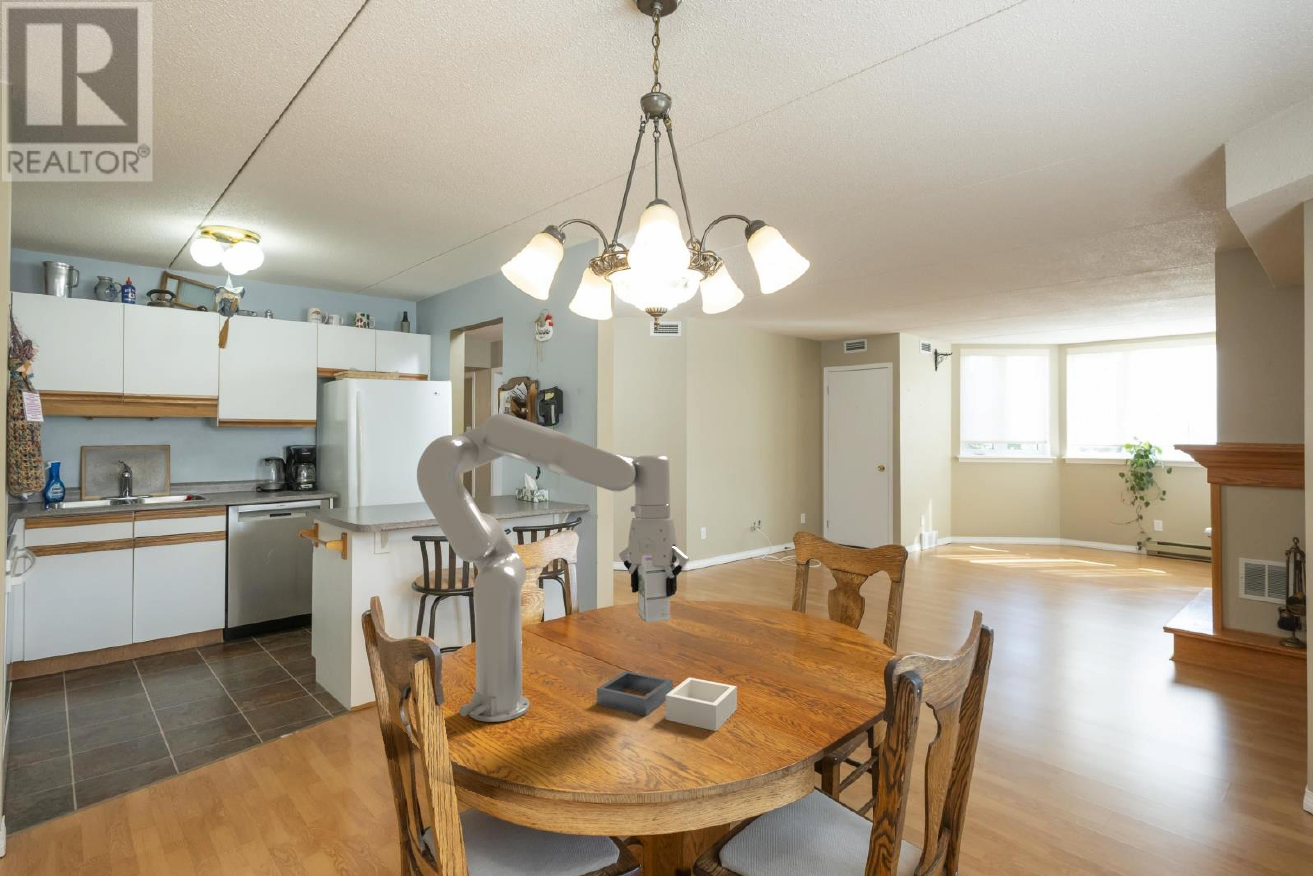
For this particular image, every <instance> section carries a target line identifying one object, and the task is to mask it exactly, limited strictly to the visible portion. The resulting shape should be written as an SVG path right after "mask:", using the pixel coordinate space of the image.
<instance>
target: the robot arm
mask: <svg viewBox="0 0 1313 876" xmlns="http://www.w3.org/2000/svg"><path fill="white" fill-rule="evenodd" d="M504 456H505V457H508V458H512V459H515V460H518V461H521V462H523V463H524V462H525V463H527V464H530V465H533V466H535V467H538V468H542V469H544V470H547V471H550V472H552V473H555V474H559V475H564V476H566V477H569V478H571V479H572V478H573V479H575V480H578V481H580V482H584V483H586V484H590V485H592V486H596V487H598V488H602V489H604V490H607V491H611V492H618V493H619V492H623V491H626V490H628V489H629V488H631V487H634V496H635V500H634V501H635V503H634V505H631V507H630V512H631V513H634V517H633V518H632V519H631V522H630V527H629V534H628V546H627V547H626V548H625V549H623V550H622V551H621V552H620V553H619V554H618V557H619V558H620V559H621V561H622V563H623V566H624V567H625V568H626V569H627V571H628V574H629V575H630V587H631V592H632V593H633V594H634V593H635V594H636V593H637V592H638V565H642V555H644V554H651V556H652V565H653V566H654V567H664V569H665V571H666V572H667V574H668V578H666V596H667V597H672V596H674V595H676V592H677V589H678V585H677V583H678V581H677V580H678V579H677V577H678V576H679V574H680V573H681V572H682V571H683V570H684V569H685V567H686V566H687V564H688V563H689V561H690V558H689V557H688V556H687V555H686V554H684V553H683V552H682V551H681V550H680V549H679V548H678V545H677V536H676V535H677V534H676V528H675V524H674V519H673V518H671V496H670V495H671V492H670V491H671V490H670V489H671V487H670V484H671V482H670V481H671V480H670V479H671V477H670V472H671V471H670V460H669V458H668V457H667V456H666V455H660V454H659V455H655V454H654V455H640V456H631V455H630V456H628V455H623V454H617V453H613V452H611V451H607V450H605V449H601V448H599V447H596V446H592V445H590V444H587V443H584V442H582V441H579V440H577V439H575V438H573V437H572V436H570V435H568V434H566V433H563V432H561V431H558V430H555V429H552V428H550V427H546V426H543V425H541V424H537V423H535V422H531V421H528V420H525V419H523V418H520V417H517V416H514V415H511V414H507V413H496V414H494V415H493V414H492V415H491V416H489V417H488V418H487V419H486V421H485V422H484V424H482V425H479V426H477V427H475V428H472V429H470V430H468V431H465V432H463V433H460V434H457V435H455V434H453V435H452V434H451V435H450V434H449V435H443V436H439V437H438V438H436V439H434V440H433V441H431V443H429V445H427V447H426V448H425V449H424V451H422V454H421V456H420V458H419V460H418V463H417V469H416V482H417V486H418V489H419V491H420V494H421V496H422V498H423V500H424V502H425V504H426V505H427V507H428V509H429V510H430V512H431V513H432V515H433V517H434V519H435V521H436V523H437V525H438V527H439V528H440V530H441V531H442V533H443V534H444V536H445V538H446V540H447V541H448V543H449V545H450V547H451V548H452V550H453V552H454V553H455V555H456V556H457V557H458V558H459V559H460V560H462V561H464V562H467V563H473V565H474V566H475V568H476V570H478V573H477V575H476V577H475V580H474V584H473V604H474V605H473V606H474V615H475V692H474V693H472V699H471V700H470V701H469V703H466V704H464V705H462V706H460V707H459V709H458V710H459V714H460V716H461V717H465V716H467V715H469V716H470V717H471V719H473V720H476V721H479V722H487V723H498V722H505V721H510V720H514V719H516V718H518V717H521V716H523V715H525V714H526V713H527V712H528V711H529V709H530V700H529V699H528V698H527V697H526V696H525V695H524V694H523V634H522V633H523V632H522V630H523V628H522V626H523V625H522V624H523V623H522V621H523V620H522V600H521V599H522V598H521V597H522V589H523V586H524V584H525V582H526V578H527V570H526V566H525V564H524V562H523V560H522V558H521V556H520V554H519V553H518V551H517V550H516V548H515V546H514V544H513V543H512V541H511V539H510V538H509V536H508V534H507V533H506V531H505V530H504V528H503V527H502V525H501V523H500V522H499V521H498V520H497V519H496V518H495V517H494V516H492V515H490V514H488V513H484V512H481V511H480V509H479V508H478V506H477V504H476V502H475V501H474V499H473V497H472V495H471V493H469V491H468V489H467V488H466V487H465V486H464V484H463V482H462V479H461V475H462V474H465V473H469V472H470V471H472V470H474V469H477V468H479V467H483V465H486V464H489V463H491V462H494V461H495V460H498V459H501V458H503V457H504ZM677 560H679V562H678V564H677V565H676V563H677Z"/></svg>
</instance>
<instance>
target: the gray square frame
mask: <svg viewBox="0 0 1313 876" xmlns="http://www.w3.org/2000/svg"><path fill="white" fill-rule="evenodd" d="M673 683H674V680H673V679H670V678H663V677H659V676H656V675H655V676H654V675H648V674H644V673H639V672H634V671H629V670H625V671H624V672H622V673H620V674H619V675H616V676H615V677H614V678H612V679H610V680H609V681H607V682H605V683H604V684H602V685H600V686H599V687H597V688H596V706H600V707H603V706H604V708H609V709H612V710H617V711H622V712H626V713H630V714H635V715H638V714H640V716H642V717H647V716H649V715H650V714H652V712H654V711H655V710H656V709H657V708H659V707H660V706H662V705H663V704H664V703H665V702H666V694H668V693H669V692H670V691H672V690H673V689H674V684H673ZM627 689H629V690H633V691H634V690H635V691H639V692H643V691H645V692H644V693H647V692H649V693H647V694H645V696H644V695H638V694H633V693H631V692H630V693H628V692H625V691H626V690H627ZM664 701H665V702H664ZM659 705H660V706H659ZM653 710H654V711H653Z"/></svg>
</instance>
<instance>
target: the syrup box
mask: <svg viewBox="0 0 1313 876" xmlns="http://www.w3.org/2000/svg"><path fill="white" fill-rule="evenodd" d="M666 578H668V574H667V572H666V571H665V569H664V567H654V566H653V565H652V556H651V554H644V555H642V565H638V616H639V617H640V618H641V619H642V620H643V621H644V622H645V623H657V622H664V621H670V620H671V604H670V602H671V601H670V600H671V599H670V597H671V596H670V597H667V596H666Z"/></svg>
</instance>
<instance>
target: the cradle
mask: <svg viewBox="0 0 1313 876" xmlns="http://www.w3.org/2000/svg"><path fill="white" fill-rule="evenodd" d="M736 710H737V711H738V686H736V685H731V684H727V683H720V682H715V681H709V680H705V679H701V678H695V677H688V678H686V679H685V680H683V681H682V682H681V683H680V684H679V685H677V686H675V687H673V690H672V691H670V692H669V693H668V694H666V701H665V720H666V721H671V722H674V723H679V724H684V725H687V726H693V727H696V728H700V729H706V730H710V731H713V732H717V731H719V729H720V728H721V727H722V726H723V725H724V724H725V723H726V722H727V721H728V720H729V719H730V718H731V717H732V716H733V715H734V714H735V713H736V712H737V711H736ZM735 711H736V712H735ZM734 712H735V713H734ZM732 714H733V715H732ZM730 716H731V717H730ZM727 719H728V720H727Z"/></svg>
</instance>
